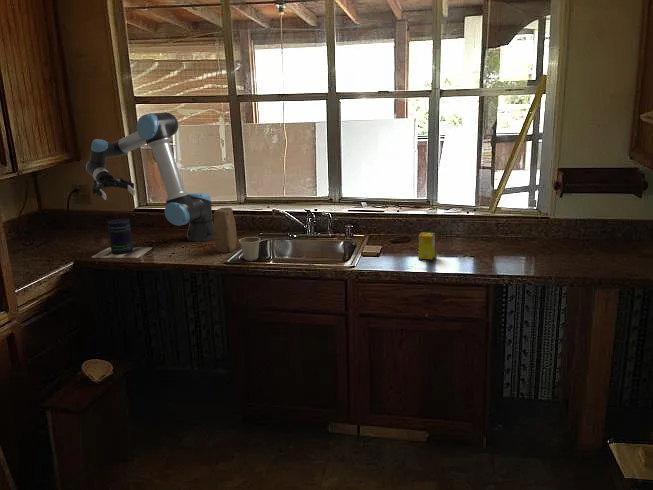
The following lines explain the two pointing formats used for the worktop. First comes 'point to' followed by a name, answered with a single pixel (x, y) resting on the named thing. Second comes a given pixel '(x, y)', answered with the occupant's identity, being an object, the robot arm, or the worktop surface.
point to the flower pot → (250, 247)
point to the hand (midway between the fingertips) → (120, 195)
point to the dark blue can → (120, 236)
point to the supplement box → (426, 246)
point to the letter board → (135, 254)
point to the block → (225, 230)
